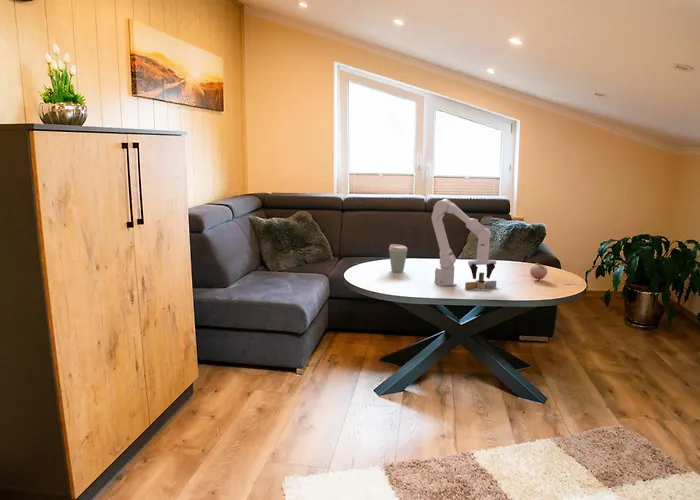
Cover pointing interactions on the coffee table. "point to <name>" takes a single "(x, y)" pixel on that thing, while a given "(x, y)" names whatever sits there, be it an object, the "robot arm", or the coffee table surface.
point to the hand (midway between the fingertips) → (481, 278)
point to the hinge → (480, 285)
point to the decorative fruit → (538, 271)
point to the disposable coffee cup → (397, 257)
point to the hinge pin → (481, 277)
